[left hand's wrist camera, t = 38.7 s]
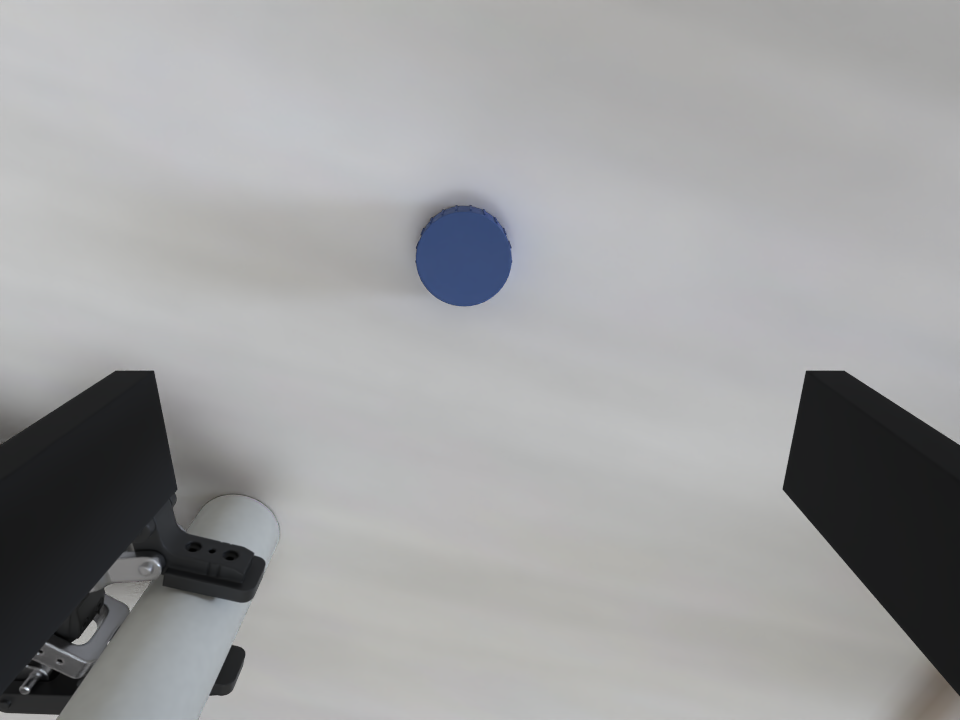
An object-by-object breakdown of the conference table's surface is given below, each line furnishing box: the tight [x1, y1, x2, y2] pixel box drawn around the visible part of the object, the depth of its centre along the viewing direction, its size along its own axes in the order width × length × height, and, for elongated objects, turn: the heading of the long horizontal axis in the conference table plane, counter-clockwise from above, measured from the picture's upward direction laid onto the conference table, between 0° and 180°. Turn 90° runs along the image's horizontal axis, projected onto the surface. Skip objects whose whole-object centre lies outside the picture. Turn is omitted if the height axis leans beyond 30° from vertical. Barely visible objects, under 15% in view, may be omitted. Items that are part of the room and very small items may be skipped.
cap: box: [416, 205, 512, 306], centre depth 27 cm, size 4×4×2 cm
